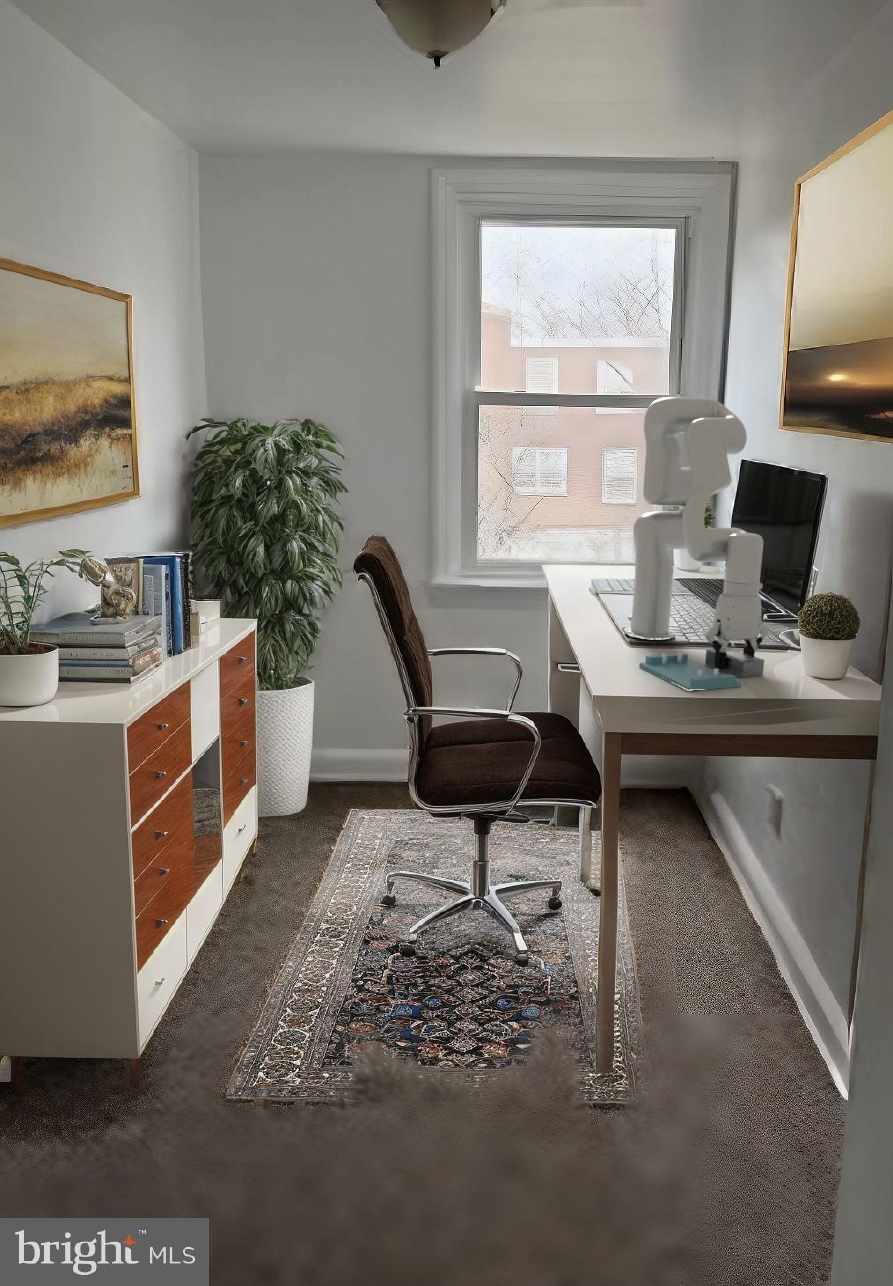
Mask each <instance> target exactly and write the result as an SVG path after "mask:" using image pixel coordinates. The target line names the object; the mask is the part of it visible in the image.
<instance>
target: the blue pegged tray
mask: <svg viewBox="0 0 893 1286" xmlns="http://www.w3.org/2000/svg"><path fill="white" fill-rule="evenodd" d="M639 668H641V669H642V670H644V669H645V670H644V671H646V670H647V671H646V672H648V671H649V673H650V672H651V673H650V674H652V673H653V674H652V675H654V676H655V677H658V678H660V677H663V678H664V679H666V680H668V681H670V682H673V683H675V684H678V685H680V686H682V687H684V688H686V689H688V690H689V689H715V690H718V689H717V688H726V689H730V688H729V687H737V688H741V687H742V682H741V681H738V680H736V678H737V677H736V676H734V675H732V674H723V673H721V672H719V669H714V668H711V667H708V666H705V665H703V664H702V663H699V662H697V661H694V660H692V659H690V658H689V654H687V653H685V652H681V651H678V652H677V653H669V654H668V653H663V652H662V654H654V655H645V662H639ZM664 679H663V680H664ZM666 680H665V681H666ZM668 681H667V682H668ZM670 682H669V683H670ZM740 686H741V687H740Z"/></svg>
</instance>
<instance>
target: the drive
mask: <svg viewBox="0 0 893 1286" xmlns="http://www.w3.org/2000/svg"><path fill="white" fill-rule="evenodd" d="M715 652H716V650H714V649H713V648H710V649H709V648H708V649H706V651H705V660H704V661H705V664H704V666H706V667H708V668H710V669H713V670H714V669H719V668H717V667H715ZM724 652H726V653H727V657H726V667H725V670H721V669H719V671H720V672H722V673H725V674H727V675H730V674H732V675H734V676H736V678H739V679H742V680H743V679H750V678H757V677H763V676H764V665H765V659H763V658H760V657H756V656H755V655H754V656H751V655H748V654H745V653H743V652H742V651H738V650H735V649H733V648H730V647H728V646H727V647H726V649H725V651H724Z"/></svg>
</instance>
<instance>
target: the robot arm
mask: <svg viewBox="0 0 893 1286" xmlns="http://www.w3.org/2000/svg"><path fill="white" fill-rule="evenodd" d="M643 430H644V431H643V433H644V439H645V447H646V448H645V449H646V451H645V463H644V473H643V474H644V475H643V485H642V486H643V489H642V493H643V499H644V501H645V502H646V504H648V505H650V506H653V507H678V510H677V511H673V510H672V511H667V510H666V511H661V510H660V511H650V512H645V513H643V514H641V515H639V516H638V518H636V520H635V522H634V525H633V539H634V549H635V563H634V580H633V581H634V582H633V583H634V584H633V594H632V595H633V596H632V597H633V598H632V608H631V610H632V611H631V612H632V613H631V615H628V617H627V620H628V621H629V622H630V626H628V627H626V628H624V633H625V632H633V633H634V635H638V636H641V637H645V638H669V637H672V636H674V635H675V636H676V633H675V631H674V630H672V629H670V621H671V620H670V619H671V618H670V617H671V608H672V607H671V606H672V594H673V580H674V564H673V562H672V559H671V558H670V555H668V552H667V551H670V550H687V553H688V554H689V556H690V558H691V559H693V560H695V561H696V562H699V563H706V562H707V563H711V562H725V567H724V568H725V569H724V580H723V592H722V593H720V594H719V596H718V599H717V603H716V606H715V611H714V615H713V622H712V626H711V628H710V629H709V630H708V631H707V632H706V633H705V635H704V637H705V639H706V640H707V641H708V642H709V644H710V645H711V646H712V649H714V650H716V652H715V667H717V668H719V669H721V670H725V667H726V657H727V653H726V652H724V651H725V649H726V647H727V648H728V645H729V644H730V641H732V642H733V641H744V644H745V647H744V648H743V650H742V651H743V652H742V653H745V654H748V655H751V656H754V657H755V653H756V651H757V650H758V648H759V645H760V644H761V643H762V642H763V640H764V639H765V638H766V637H767V635H768V634H769V631H768V629H767V628H765V626H764V625H763V624H762V599H761V596H760V595H759V592H760V591H759V590H762V589H763V585H764V584H763V583H761V581H760V580H761V574H762V573H761V572H762V571H761V570H762V563H763V562H762V561H763V550H764V539H763V537H762V536H761V535H760V534H759V533H758V534H757V533H754V532H753V533H752V532H747V531H745V529H743V528H739V527H708V528H707V527H706V525H705V515H706V507H707V506H706V505H707V501H708V499H709V498H710V497H711V496H714V495H716V494H718V493H720V492H723V491H724V490H725V489H727V488H729V486H730V485H731V484H732V482H733V481H732V475H731V469H730V463H729V459H728V455H737V454H740V453H741V452H742V451H743V450H744V448H745V447H746V444H747V439H748V438H747V431H746V430H747V429H746V427H745V426H744V423H743V422H742V420H741V419H740V418H739V417H738V416H737V415H736V414H735V413H733V411H731V410H730V409H729V408H728V407H726V406H725V405H724V404H722V403H721V402H720V401H719V400H717V399H714V398H712V397H711V398H710V397H688V396H687V397H685V396H682V397H681V396H670V397H669V396H668V397H661V398H658V399H656V400H654V401H653V402H652V403H651V404H650V405H649V406H648V408H647V409H646V412H645V414H644V419H643ZM676 434H684V440H685V441H684V442H685V445H686V452H687V456H688V462H689V467H681V460H682V448H681V444H680V443H679V441H678V438H677V437H676V436H675V435H676ZM633 633H632V634H633ZM715 637H716V638H717V639H716V638H715Z"/></svg>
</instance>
